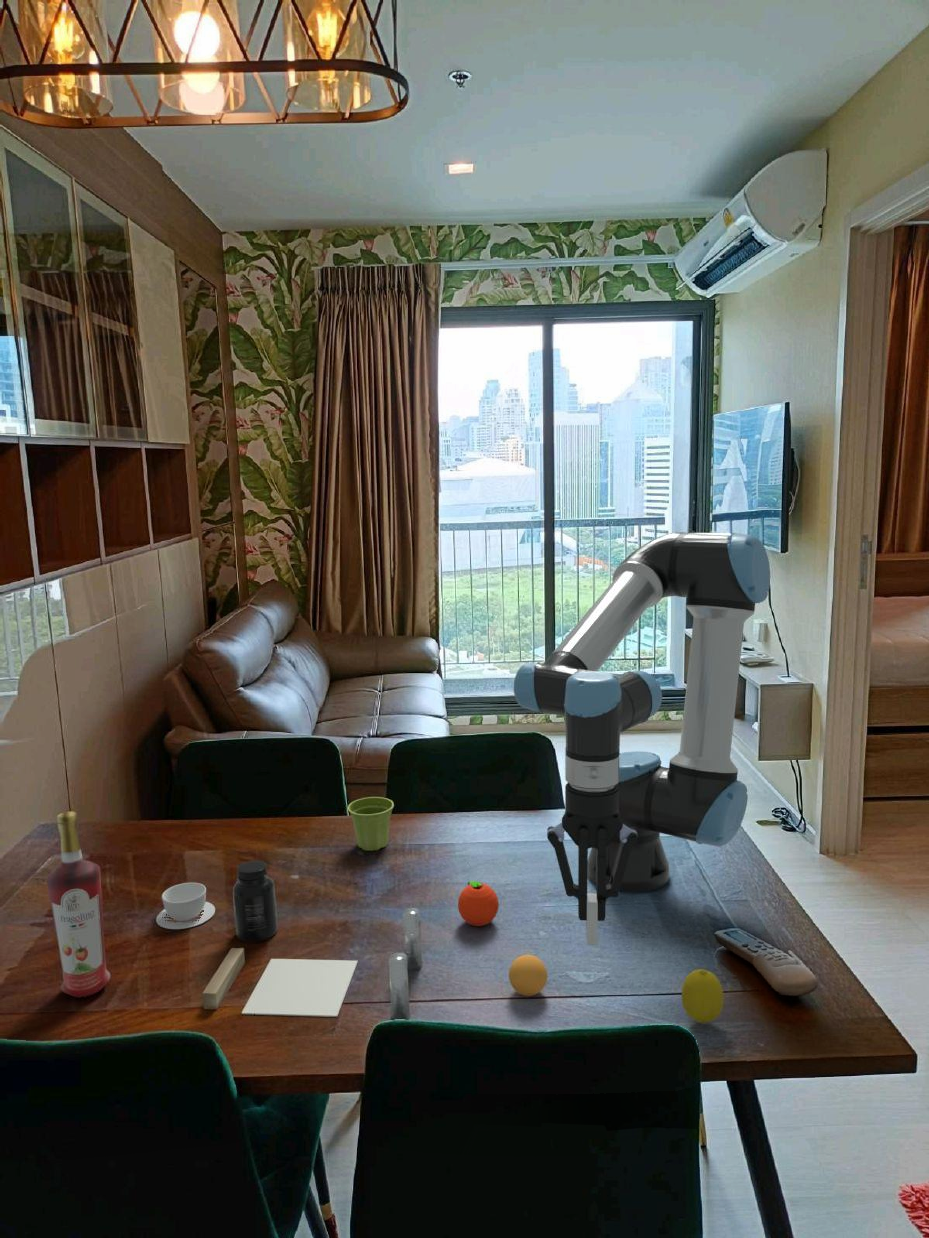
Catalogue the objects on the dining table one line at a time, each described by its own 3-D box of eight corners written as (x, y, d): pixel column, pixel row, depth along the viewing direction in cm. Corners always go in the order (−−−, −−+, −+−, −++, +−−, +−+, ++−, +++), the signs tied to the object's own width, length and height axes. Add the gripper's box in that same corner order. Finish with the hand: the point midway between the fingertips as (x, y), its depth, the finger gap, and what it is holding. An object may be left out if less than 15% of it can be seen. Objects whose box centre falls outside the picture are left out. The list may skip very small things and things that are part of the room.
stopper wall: (245, 962, 138) (243, 948, 138) (217, 1008, 126) (215, 993, 126) (232, 962, 138) (231, 947, 138) (203, 1008, 127) (202, 992, 126)
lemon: (675, 1012, 123) (676, 960, 121) (714, 1009, 123) (715, 957, 122) (689, 1037, 117) (690, 983, 116) (729, 1033, 118) (730, 979, 116)
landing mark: (357, 961, 138) (357, 960, 138) (337, 1016, 124) (337, 1015, 124) (271, 959, 139) (271, 958, 139) (241, 1013, 125) (241, 1012, 125)
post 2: (423, 960, 137) (420, 907, 136) (420, 970, 135) (418, 916, 133) (406, 960, 137) (404, 907, 136) (404, 969, 135) (401, 916, 133)
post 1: (410, 1010, 125) (408, 952, 123) (408, 1021, 122) (405, 963, 121) (392, 1009, 125) (390, 952, 123) (389, 1021, 122) (386, 962, 121)
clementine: (449, 915, 151) (448, 877, 150) (486, 906, 154) (485, 869, 152) (468, 937, 144) (467, 897, 142) (506, 927, 146) (505, 888, 145)
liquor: (59, 1008, 128) (38, 828, 123) (60, 982, 134) (40, 810, 130) (113, 995, 131) (94, 819, 126) (111, 970, 137) (93, 802, 132)
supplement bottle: (285, 925, 149) (280, 860, 147) (263, 946, 143) (258, 878, 141) (250, 920, 151) (245, 855, 149) (228, 940, 145) (222, 873, 143)
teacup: (227, 909, 156) (225, 884, 155) (188, 936, 147) (185, 910, 146) (184, 898, 160) (182, 875, 160) (143, 924, 151) (141, 899, 151)
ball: (547, 981, 131) (546, 947, 130) (547, 1004, 125) (546, 968, 124) (510, 980, 131) (509, 946, 130) (508, 1003, 126) (507, 967, 125)
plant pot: (393, 854, 176) (391, 813, 174) (346, 855, 176) (344, 814, 174) (397, 835, 185) (395, 796, 183) (353, 836, 185) (351, 797, 184)
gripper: (545, 792, 119) (546, 952, 122) (642, 793, 117) (640, 955, 121) (545, 773, 126) (546, 925, 130) (636, 774, 125) (634, 927, 129)
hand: (591, 939), depth 125 cm, fingers closed
